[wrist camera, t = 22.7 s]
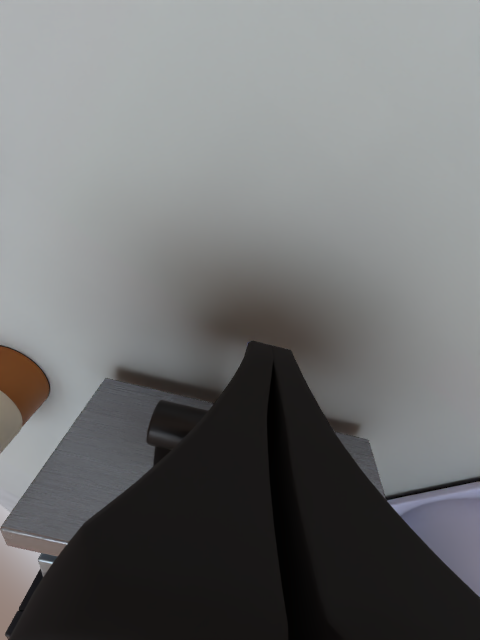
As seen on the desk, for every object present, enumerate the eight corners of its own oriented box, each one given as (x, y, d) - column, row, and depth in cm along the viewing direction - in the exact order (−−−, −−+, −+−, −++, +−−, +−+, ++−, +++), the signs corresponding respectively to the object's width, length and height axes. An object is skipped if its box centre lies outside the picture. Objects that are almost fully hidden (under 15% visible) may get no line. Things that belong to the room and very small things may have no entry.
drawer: (103, 309, 13) (-36, 451, 7) (408, 383, 13) (507, 575, 8) (109, 512, 22) (49, 646, 16) (289, 553, 23) (292, 699, 17)
